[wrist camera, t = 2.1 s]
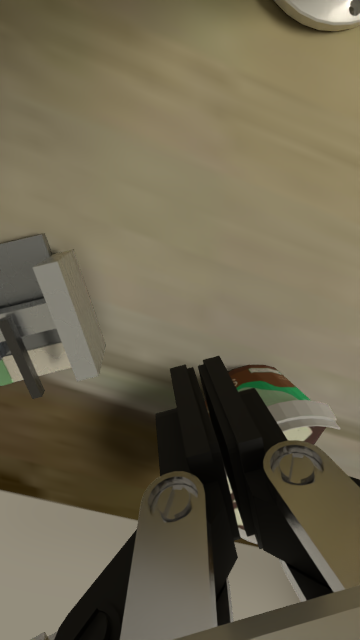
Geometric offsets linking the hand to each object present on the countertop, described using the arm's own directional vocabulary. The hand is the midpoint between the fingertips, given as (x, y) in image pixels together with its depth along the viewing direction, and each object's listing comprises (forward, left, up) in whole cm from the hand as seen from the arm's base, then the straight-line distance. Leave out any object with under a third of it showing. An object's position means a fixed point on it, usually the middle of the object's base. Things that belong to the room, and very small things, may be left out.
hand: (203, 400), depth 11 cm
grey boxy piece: (+1, -11, -16) cm, 19 cm away
